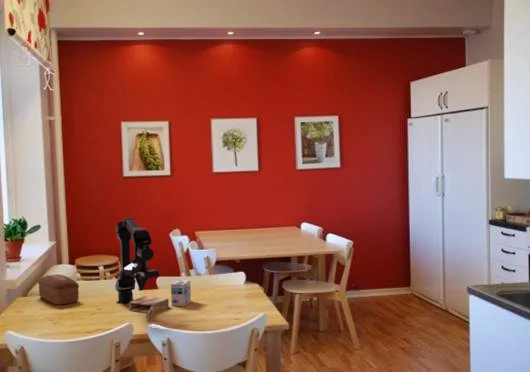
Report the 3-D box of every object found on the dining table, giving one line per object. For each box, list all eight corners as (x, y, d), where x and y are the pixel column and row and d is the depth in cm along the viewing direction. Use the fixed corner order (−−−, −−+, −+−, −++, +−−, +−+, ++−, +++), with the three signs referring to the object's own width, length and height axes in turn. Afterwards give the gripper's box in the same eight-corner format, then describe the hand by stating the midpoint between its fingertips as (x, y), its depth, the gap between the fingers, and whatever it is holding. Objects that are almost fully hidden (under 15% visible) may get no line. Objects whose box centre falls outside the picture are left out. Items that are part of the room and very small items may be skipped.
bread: (61, 293, 325) (60, 270, 325) (82, 302, 304) (81, 278, 303) (35, 297, 317) (34, 274, 316) (55, 307, 295) (54, 282, 294)
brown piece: (129, 310, 286) (129, 301, 286) (145, 304, 297) (144, 296, 297) (153, 313, 280) (153, 304, 280) (168, 306, 291) (168, 298, 291)
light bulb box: (184, 306, 291) (183, 284, 291) (171, 306, 293) (170, 284, 292) (191, 301, 302) (190, 279, 301) (178, 300, 303) (177, 279, 303)
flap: (148, 320, 266) (148, 313, 265) (146, 320, 266) (146, 313, 265) (154, 312, 280) (153, 305, 279) (152, 312, 280) (152, 305, 279)
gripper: (113, 257, 276) (114, 290, 277) (141, 262, 265) (142, 297, 266) (131, 253, 285) (132, 285, 286) (159, 257, 274) (160, 291, 275)
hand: (141, 290), depth 278 cm, fingers closed
